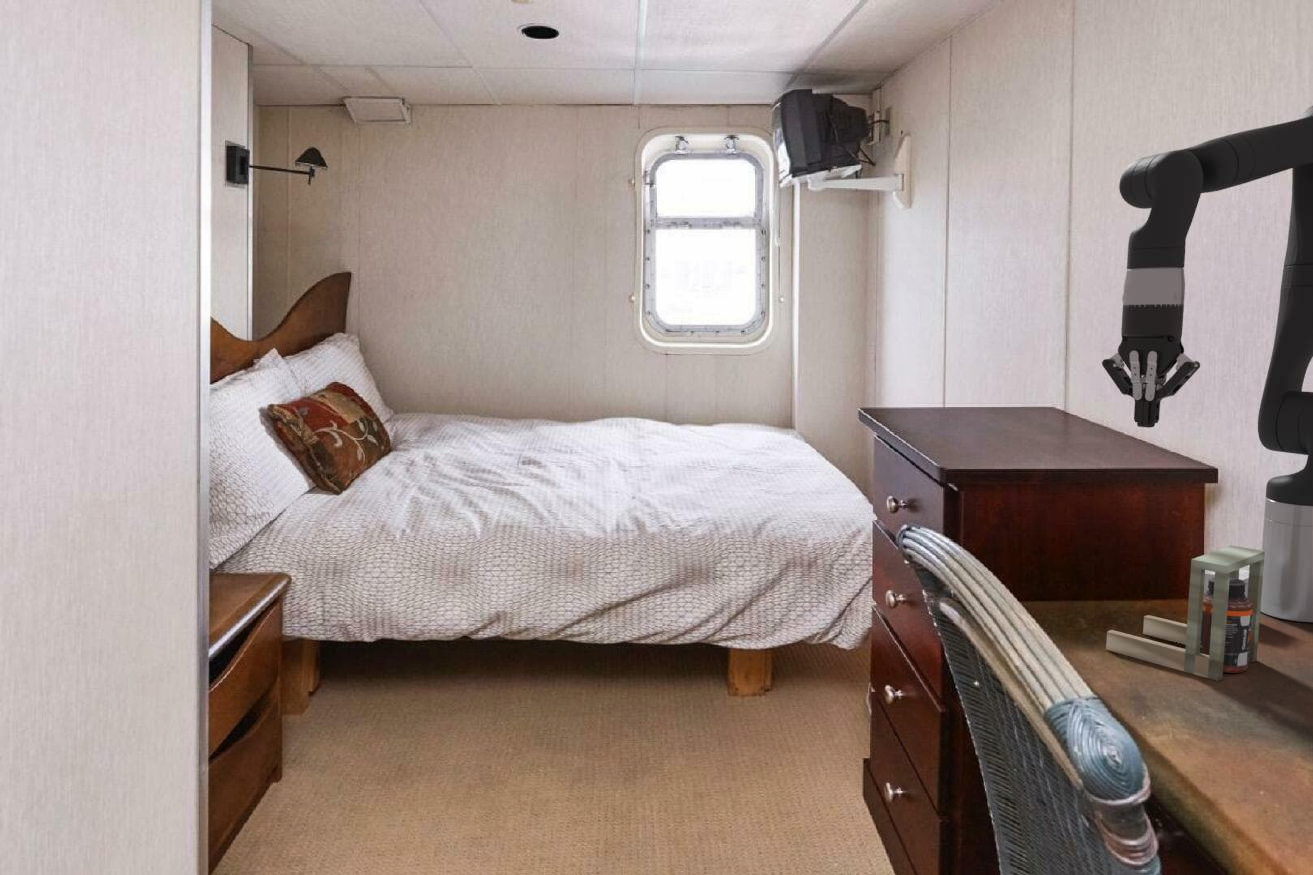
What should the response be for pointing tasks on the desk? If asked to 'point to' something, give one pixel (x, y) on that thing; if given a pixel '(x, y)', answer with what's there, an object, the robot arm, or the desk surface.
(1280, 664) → the desk surface
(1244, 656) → the supplement bottle
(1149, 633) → the channel
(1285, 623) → the desk surface
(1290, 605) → the robot arm
